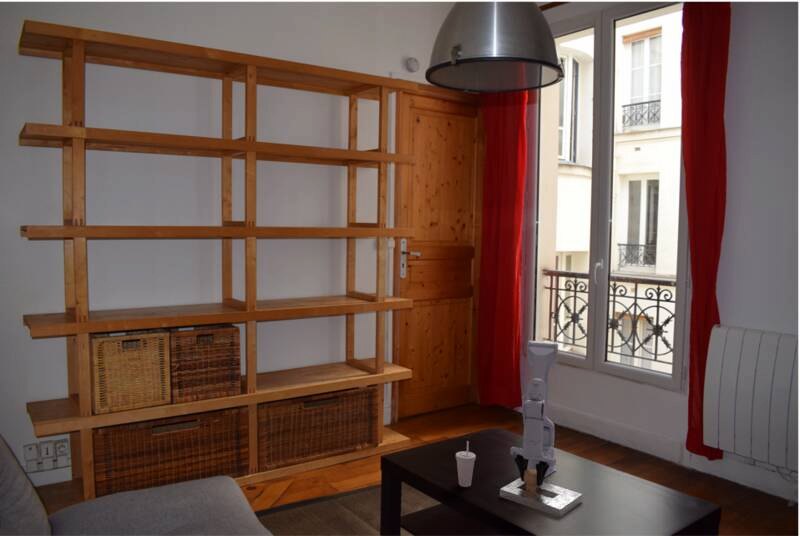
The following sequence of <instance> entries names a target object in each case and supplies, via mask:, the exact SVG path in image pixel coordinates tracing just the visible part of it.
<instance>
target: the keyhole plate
mask: <svg viewBox="0 0 800 536" xmlns="http://www.w3.org/2000/svg"><path fill="white" fill-rule="evenodd" d="M526 484H527V483H525V482H524V481H521V477H518V478H517V479H515V480H514V481H512V482H510V483H508V484H506V485H505V486H503V487H501V488H499V497H500V498H502V499H506V500H508V501H512V502H515V503H517V504H520V505H522V506H525V507H529V508H531V509H534V510H538V511H539V512H543V513H545V514H549V515H552V516H555V517H558V518H561V517H563V516H565V515H567V513H569V512H570V511H572V510H573V509H574V508H576V507H577V506H578V505H580V504H581V503H583V493H580V492H578V491H574V490H571V489H567V488H564V487H562V486H561V487H560V486H558V485H554V484H552V483H549V482H545V481H543V483H542V485H541V486H536V493H531V492H528V491H526Z"/></svg>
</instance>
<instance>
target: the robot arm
mask: <svg viewBox="0 0 800 536" xmlns="http://www.w3.org/2000/svg"><path fill="white" fill-rule="evenodd" d="M558 355H559V343H558V342H556V341H555V342H552V341H537V340H530V339H529V340H528V341H527V344H526V358H527V361H528V364H529V365H530V366H532V378H531V380H529V381H528V382H527V389H526V390H527V391H526V394H525V395H526V396H525V400H524V401H523V404H522V417H523V419H522V421H523V422H522V423H523V435H522V436H523V437H522V438H523V439H522V440H523V448H522V447H517V446H512V447H510V451H509V452H510V453H509V454H510V455H512V456H513V455H515V456H516V457H515V458H514V462H515V464H516V466H517V469H518V471H519V476H520V478H521V481H524V471H525V470H526V469H534V470H536V471H537V486H541V485H542V483H543V482H544V480H545V478H546V477H547V476H549V475H551V474H553V473H554V472H556V471H557V469H556V468H554V467H555V466H556V465H557V462H556V461H557V458H555V450H554V448H553V447H554V445H555V438H556V437H555V432H556V431H555V424H554V422H553V421H552V420H551V419H550V418H549V417H548V416H547V415H548V414H547V413H548V400H549V399H548V397H549V396H548V395H549V382H550V381H549V377H550V372H551V369H552V368H555V367H557V364H558V357H559V356H558Z"/></svg>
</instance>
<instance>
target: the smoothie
mask: <svg viewBox="0 0 800 536" xmlns="http://www.w3.org/2000/svg"><path fill="white" fill-rule="evenodd" d="M469 443H470V442H469V441H468V440H467V441H466V450H465V451H463V450H462V451H458V452H456V453H455V459H456V467H457V477H458V478H457V479H458V485H459V486H460V487H464V488H469V487H471V485H472V480H473V479H472V478H473V473H474V467H475V460H476V459H477V457H476V454H475V453H474V452H471V451H469V450H470V449H469V445H470V444H469Z"/></svg>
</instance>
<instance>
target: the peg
mask: <svg viewBox="0 0 800 536" xmlns="http://www.w3.org/2000/svg"><path fill="white" fill-rule="evenodd" d="M524 482H525V483H527V484H526V490H525V491H528V492H531V493H536V486H537V471H536V470H534V469H526V470H525V471H524Z"/></svg>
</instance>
